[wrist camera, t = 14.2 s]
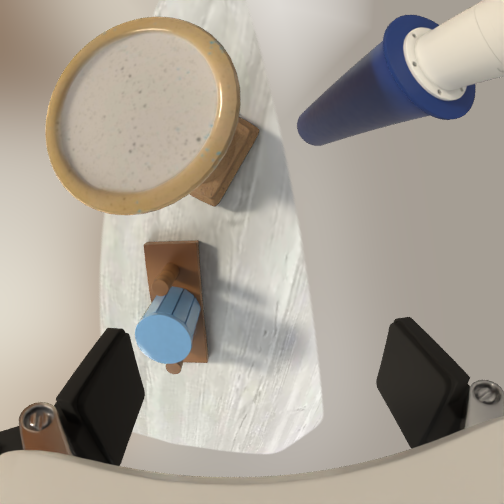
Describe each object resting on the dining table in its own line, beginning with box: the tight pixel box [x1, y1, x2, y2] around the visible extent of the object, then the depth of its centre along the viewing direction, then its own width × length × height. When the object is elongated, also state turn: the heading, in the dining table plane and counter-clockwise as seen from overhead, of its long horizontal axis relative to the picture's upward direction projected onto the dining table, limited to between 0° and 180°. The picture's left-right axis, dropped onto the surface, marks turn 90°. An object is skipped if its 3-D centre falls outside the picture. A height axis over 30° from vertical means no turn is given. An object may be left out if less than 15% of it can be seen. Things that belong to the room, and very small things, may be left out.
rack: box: [144, 240, 208, 374], centre depth 36 cm, size 18×7×8 cm, turn 1°
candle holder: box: [45, 17, 259, 215], centre depth 22 cm, size 11×11×24 cm
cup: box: [135, 286, 201, 364], centre depth 34 cm, size 7×7×8 cm
